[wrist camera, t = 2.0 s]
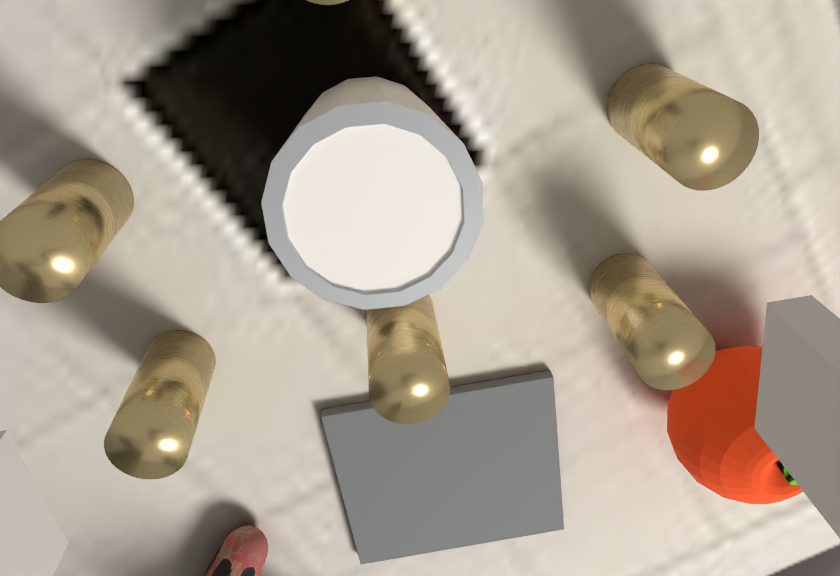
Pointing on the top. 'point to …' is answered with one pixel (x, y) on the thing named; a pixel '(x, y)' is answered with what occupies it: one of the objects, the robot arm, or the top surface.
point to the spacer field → (393, 326)
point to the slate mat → (450, 469)
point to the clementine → (727, 431)
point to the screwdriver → (240, 554)
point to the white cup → (372, 197)
